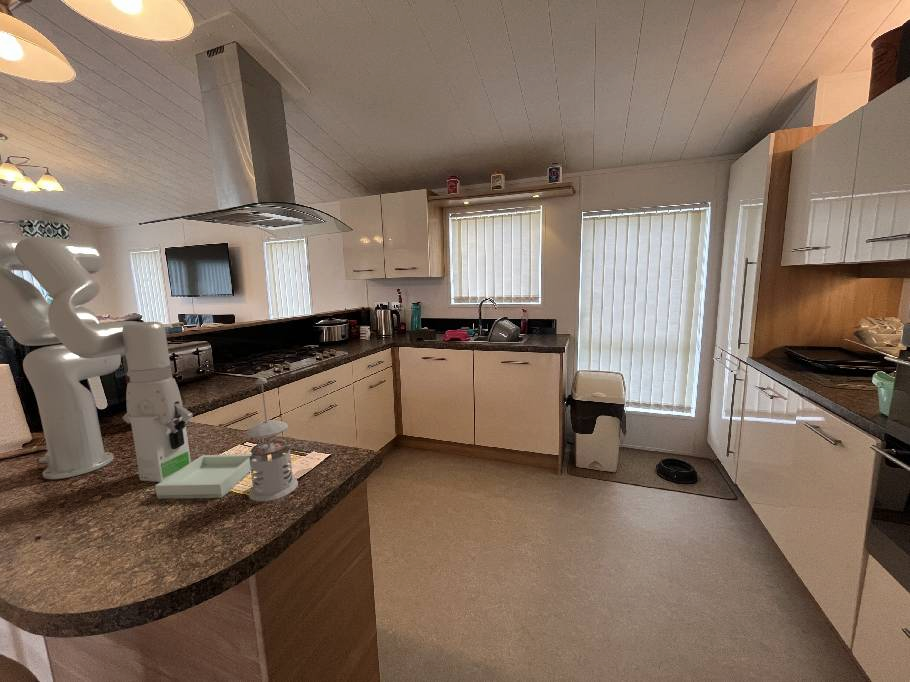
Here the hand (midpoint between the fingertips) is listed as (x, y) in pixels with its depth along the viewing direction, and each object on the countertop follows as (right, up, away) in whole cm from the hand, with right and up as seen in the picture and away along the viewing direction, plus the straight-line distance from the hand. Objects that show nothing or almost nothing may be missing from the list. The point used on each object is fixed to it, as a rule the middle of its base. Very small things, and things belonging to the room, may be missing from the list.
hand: (162, 446), depth 87 cm
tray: (+14, -7, -3) cm, 16 cm away
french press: (+30, -7, -7) cm, 32 cm away
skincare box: (0, -7, +1) cm, 7 cm away
